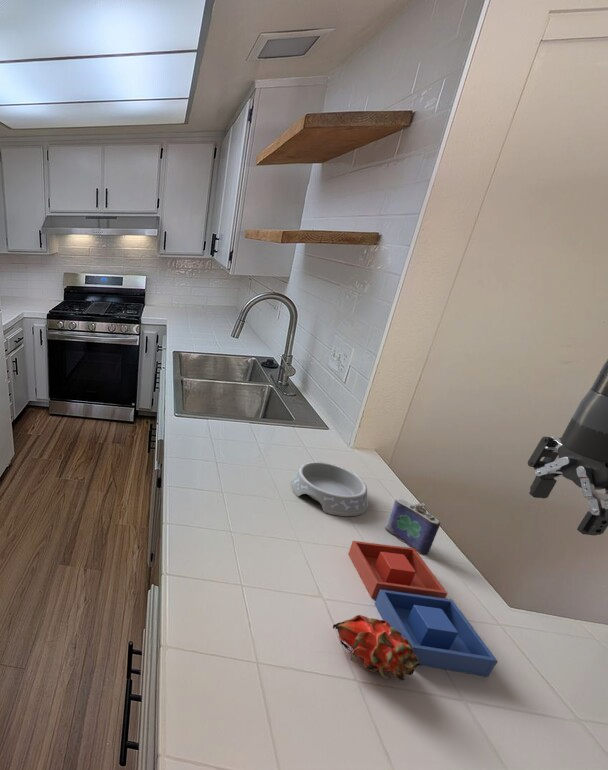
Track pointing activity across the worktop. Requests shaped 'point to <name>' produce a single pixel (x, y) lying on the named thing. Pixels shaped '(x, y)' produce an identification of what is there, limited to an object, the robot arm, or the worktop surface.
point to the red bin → (421, 584)
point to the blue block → (431, 627)
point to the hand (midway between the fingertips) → (560, 513)
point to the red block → (394, 568)
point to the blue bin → (460, 657)
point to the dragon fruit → (378, 646)
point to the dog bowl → (332, 488)
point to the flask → (412, 525)
